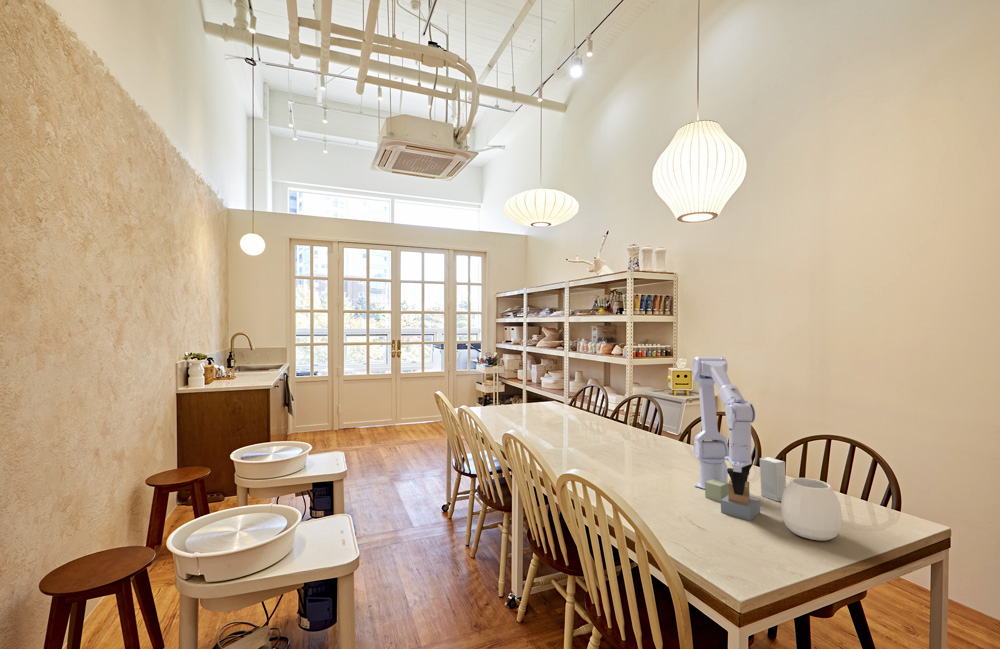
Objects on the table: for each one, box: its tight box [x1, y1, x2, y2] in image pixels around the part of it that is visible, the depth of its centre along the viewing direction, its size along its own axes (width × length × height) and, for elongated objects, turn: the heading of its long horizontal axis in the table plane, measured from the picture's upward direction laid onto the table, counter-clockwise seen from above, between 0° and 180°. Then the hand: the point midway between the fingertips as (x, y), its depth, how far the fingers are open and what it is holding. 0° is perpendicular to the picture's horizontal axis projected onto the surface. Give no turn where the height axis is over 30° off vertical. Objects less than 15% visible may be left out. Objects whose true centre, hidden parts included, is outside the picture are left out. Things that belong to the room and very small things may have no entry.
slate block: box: [720, 496, 761, 521], centre depth 136 cm, size 8×8×4 cm
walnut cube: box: [728, 478, 750, 504], centre depth 136 cm, size 5×5×5 cm
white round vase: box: [780, 477, 843, 542], centre depth 122 cm, size 13×13×14 cm
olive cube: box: [704, 479, 729, 503], centre depth 147 cm, size 5×5×5 cm
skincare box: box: [759, 456, 787, 502], centre depth 147 cm, size 6×4×12 cm
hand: (740, 490), depth 136 cm, fingers open, 7 cm apart
